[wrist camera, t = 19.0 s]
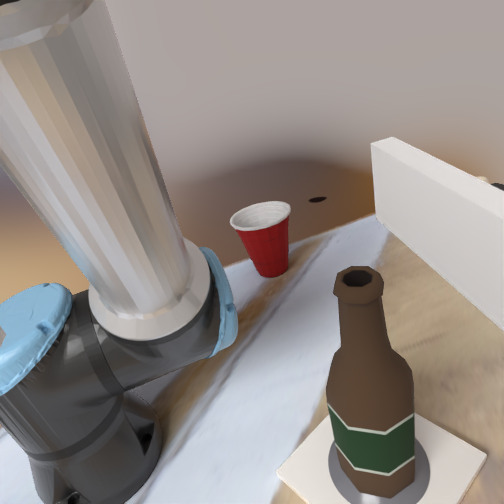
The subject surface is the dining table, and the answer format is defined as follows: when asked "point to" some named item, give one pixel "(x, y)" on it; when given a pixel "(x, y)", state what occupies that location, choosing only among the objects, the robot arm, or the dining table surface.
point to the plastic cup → (265, 235)
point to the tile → (408, 500)
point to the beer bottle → (370, 391)
